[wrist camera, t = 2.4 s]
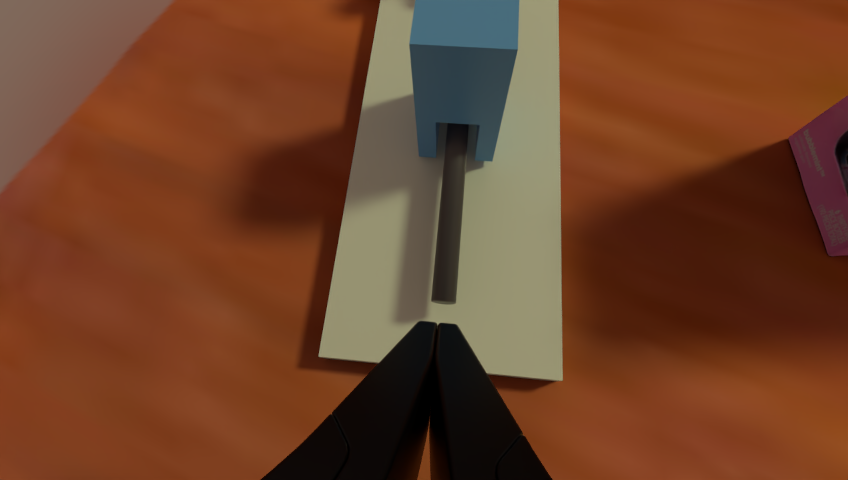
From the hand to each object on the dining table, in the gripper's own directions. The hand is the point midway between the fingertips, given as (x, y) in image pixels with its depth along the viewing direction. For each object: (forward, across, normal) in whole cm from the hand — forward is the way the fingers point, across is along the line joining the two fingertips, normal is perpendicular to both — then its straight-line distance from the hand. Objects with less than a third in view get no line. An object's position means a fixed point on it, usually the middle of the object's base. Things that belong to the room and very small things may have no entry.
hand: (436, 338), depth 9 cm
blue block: (+18, 0, -1) cm, 19 cm away
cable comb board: (+20, 0, -1) cm, 20 cm away
